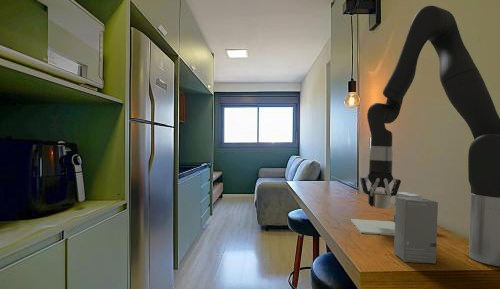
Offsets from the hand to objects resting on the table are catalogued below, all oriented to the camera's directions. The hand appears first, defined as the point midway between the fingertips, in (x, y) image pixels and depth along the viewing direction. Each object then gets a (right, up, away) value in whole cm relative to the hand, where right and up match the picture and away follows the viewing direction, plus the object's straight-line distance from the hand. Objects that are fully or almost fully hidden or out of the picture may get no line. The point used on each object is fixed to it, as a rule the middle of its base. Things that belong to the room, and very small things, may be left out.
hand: (379, 206), depth 108 cm
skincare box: (-3, -8, -29) cm, 30 cm away
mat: (0, -8, +1) cm, 8 cm away
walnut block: (+1, +2, +6) cm, 7 cm away
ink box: (+14, -9, +8) cm, 18 cm away
